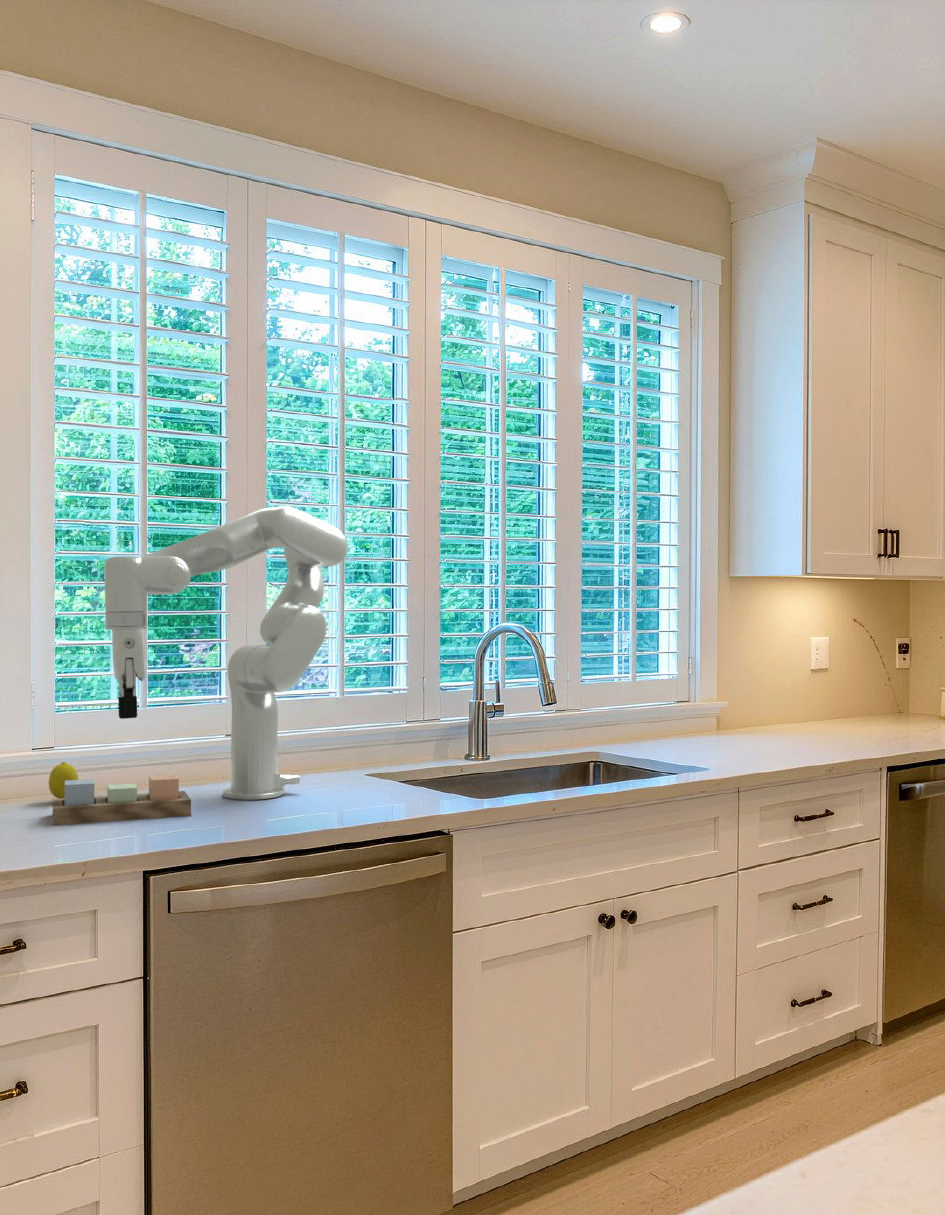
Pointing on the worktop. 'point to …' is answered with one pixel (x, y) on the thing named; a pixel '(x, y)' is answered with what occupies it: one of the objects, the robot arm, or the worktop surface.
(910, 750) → the worktop surface
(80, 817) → the button board
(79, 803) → the button slate
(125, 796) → the button sage
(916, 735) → the worktop surface
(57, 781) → the lemon
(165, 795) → the button terracotta
